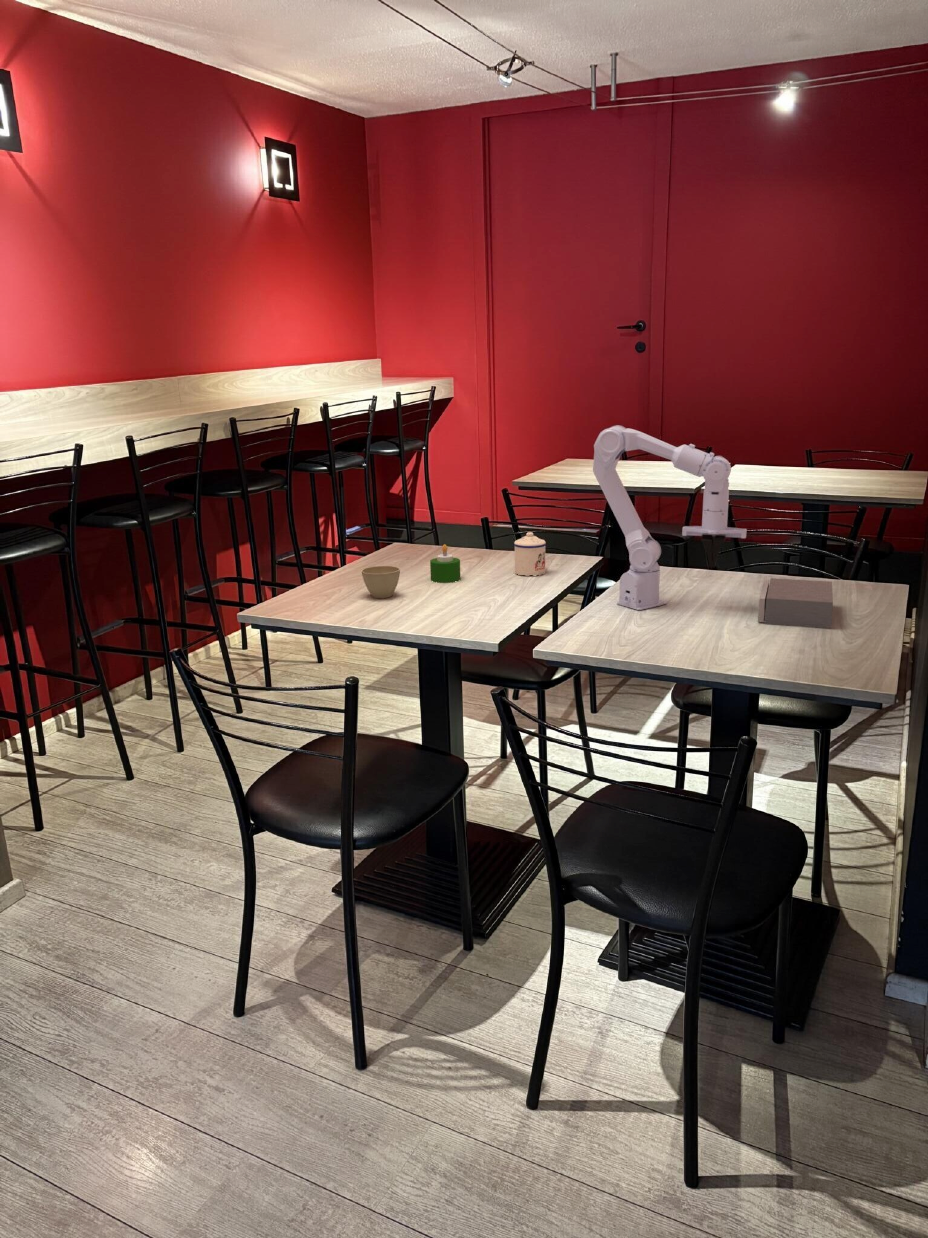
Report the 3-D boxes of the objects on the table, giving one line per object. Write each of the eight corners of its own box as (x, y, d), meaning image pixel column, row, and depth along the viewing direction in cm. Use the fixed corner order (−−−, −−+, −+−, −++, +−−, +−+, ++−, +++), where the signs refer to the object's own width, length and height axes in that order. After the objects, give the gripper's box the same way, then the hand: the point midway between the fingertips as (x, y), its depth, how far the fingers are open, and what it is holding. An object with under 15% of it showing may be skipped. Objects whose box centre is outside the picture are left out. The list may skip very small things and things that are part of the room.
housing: (829, 605, 226) (832, 581, 224) (830, 628, 208) (832, 602, 206) (769, 601, 231) (770, 578, 229) (764, 623, 213) (766, 598, 211)
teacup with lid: (540, 577, 260) (540, 536, 257) (509, 575, 264) (509, 534, 260) (552, 568, 271) (552, 528, 268) (522, 566, 274) (522, 527, 271)
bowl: (404, 591, 249) (402, 565, 247) (397, 601, 240) (396, 573, 238) (367, 591, 250) (365, 565, 248) (359, 600, 241) (357, 573, 239)
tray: (814, 604, 227) (816, 581, 225) (814, 626, 209) (816, 602, 208) (762, 600, 231) (764, 578, 229) (757, 622, 213) (759, 598, 212)
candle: (426, 582, 259) (425, 546, 256) (436, 575, 266) (435, 540, 263) (455, 583, 256) (454, 547, 253) (464, 576, 264) (463, 541, 261)
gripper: (681, 511, 218) (679, 568, 222) (746, 513, 213) (742, 571, 217) (685, 506, 225) (683, 562, 228) (748, 508, 220) (745, 565, 223)
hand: (712, 566), depth 223 cm, fingers closed
